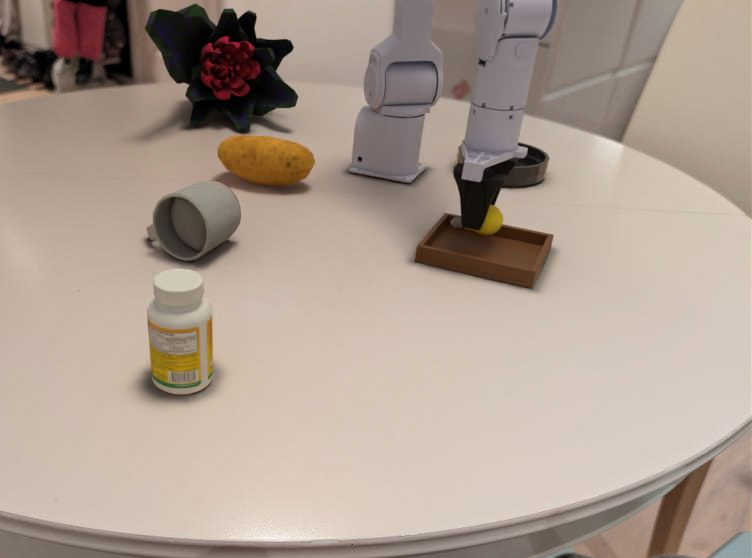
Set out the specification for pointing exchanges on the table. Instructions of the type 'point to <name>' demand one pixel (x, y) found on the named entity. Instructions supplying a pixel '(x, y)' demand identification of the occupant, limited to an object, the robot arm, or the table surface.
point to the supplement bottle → (180, 332)
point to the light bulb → (485, 222)
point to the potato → (266, 159)
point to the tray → (486, 251)
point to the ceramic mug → (195, 219)
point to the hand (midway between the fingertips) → (475, 222)
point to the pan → (522, 167)
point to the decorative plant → (222, 63)
